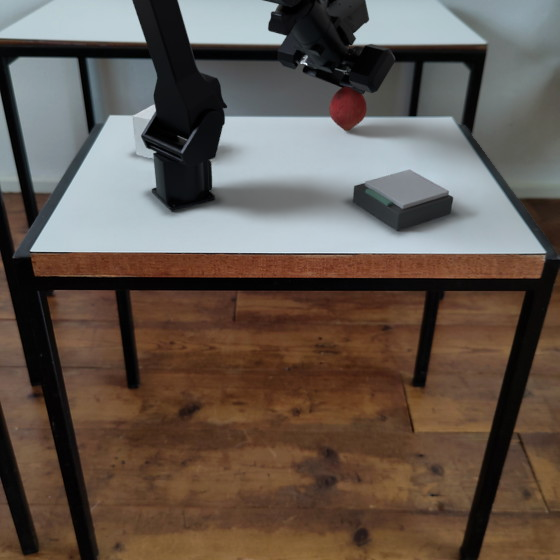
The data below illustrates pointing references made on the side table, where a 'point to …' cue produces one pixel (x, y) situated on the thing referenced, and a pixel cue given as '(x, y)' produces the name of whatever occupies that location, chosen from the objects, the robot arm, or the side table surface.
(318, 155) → the side table surface
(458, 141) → the side table surface
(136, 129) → the white cube
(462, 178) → the side table surface
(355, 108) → the onion
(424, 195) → the scale
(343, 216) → the side table surface
